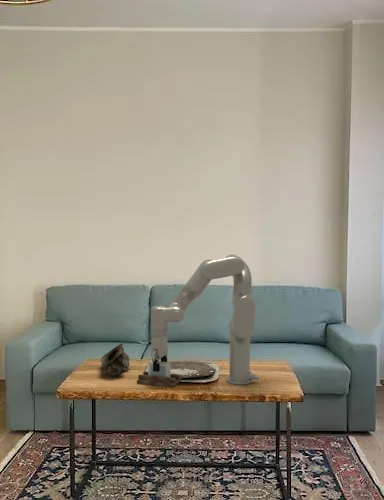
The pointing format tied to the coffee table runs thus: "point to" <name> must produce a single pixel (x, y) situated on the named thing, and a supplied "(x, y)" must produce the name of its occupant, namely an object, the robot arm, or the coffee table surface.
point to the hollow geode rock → (116, 361)
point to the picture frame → (164, 369)
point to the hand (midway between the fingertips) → (160, 368)
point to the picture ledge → (158, 380)
